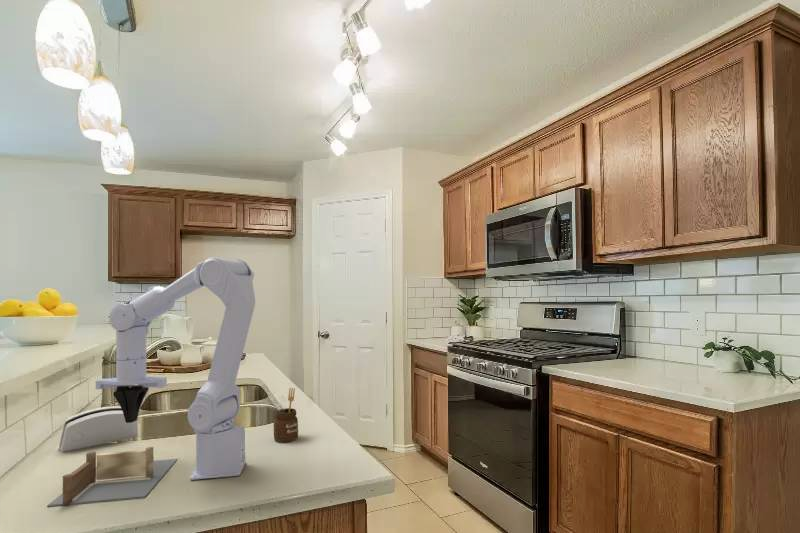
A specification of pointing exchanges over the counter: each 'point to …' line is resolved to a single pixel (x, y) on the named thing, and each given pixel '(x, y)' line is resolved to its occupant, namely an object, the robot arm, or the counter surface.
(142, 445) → the counter surface
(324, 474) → the counter surface
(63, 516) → the counter surface
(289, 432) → the utensil holder
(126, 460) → the fence panel
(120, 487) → the mat
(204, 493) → the counter surface
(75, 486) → the fence post and rail
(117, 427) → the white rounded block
